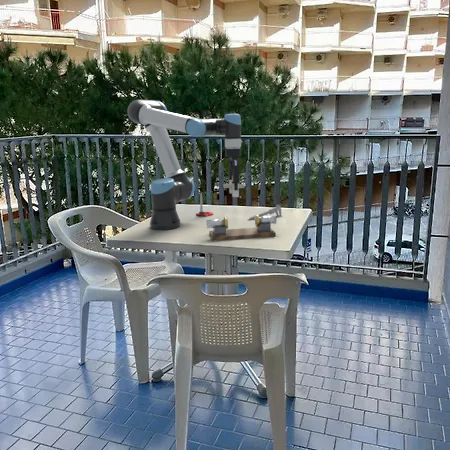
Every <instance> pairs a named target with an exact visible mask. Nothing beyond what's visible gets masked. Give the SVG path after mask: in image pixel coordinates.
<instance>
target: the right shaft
mask: <svg viewBox="0 0 450 450" xmlns="http://www.w3.org/2000/svg"><path fill="white" fill-rule="evenodd" d="M254 216H255V219H254V226H255V227H257V230H258V231H259V232H269V231H271V229H272V227H271V226H272V225H276V224H277V215H264V216H261V217H259V215H258V214H256V215H254Z"/></svg>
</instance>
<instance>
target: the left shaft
mask: <svg viewBox="0 0 450 450" xmlns="http://www.w3.org/2000/svg"><path fill="white" fill-rule="evenodd" d="M228 228H229V219H228V216H224V217H223V218H221V219H206V229H212V231H213V232H214V235H226V230H227V229H228Z"/></svg>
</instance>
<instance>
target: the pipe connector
mask: <svg viewBox="0 0 450 450" xmlns="http://www.w3.org/2000/svg"><path fill="white" fill-rule="evenodd" d="M232 182H233V176H232ZM245 185H246V184H243V183H242V184H241V183H239V189H245ZM222 188H223V189H229V188H230V189H231V190H232V193H231V197H232V198H234V197H233V183H232V184H229V183H223V187H222Z"/></svg>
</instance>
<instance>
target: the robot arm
mask: <svg viewBox="0 0 450 450" xmlns="http://www.w3.org/2000/svg"><path fill="white" fill-rule="evenodd" d="M127 116H128V118H129V119H130V121H131V122H133V123H134V124H137V125H143V126H144V129H145V131H147V132H149V134H150V137H151V139H152V143H153V145H154V147H155V150H156V153H157V155H158V158H159V161H160V163H161V166H162V169H163V172H164V174H165V177H164V178H158V179H155V180H153V181H151V183H150V200H151V208H152V209H151V211H152V212H151V213H152V214H151V217H150V222H149V228H150V229H152V230H155V231H156V230H158V231H159V230H161V231H163V230H164V231H165V230H167V231H168V230H172V229H177V228H180V226H181V225H182V224H181V219H180V217H179V215H178V214H179V213H178V212H177V205H176V203H179V202H183V201H187V200H189V199H191V198H192V197H193V195H194V193H195V192H196V187H195V186H196V185H195V182H194V180H193V179H192V178H190V177H188V176H187V173H186V171H184V170H183V169H182V168H181V165H180V163H179V160H178V156H177V154H176V151H175V149H174V146H173V143H172V141H171V138H170V135H169V132H168V130H173V131H177V132H180V133H185V134H188V135H189V136H191V137H196V138H197V137H207V136H208V137H209V136H224V148H225V151H224V152H225V153H224V155H225V157H227V158H228V181H229V182H228V184H232V183H233V197H232V198H239V197H240V190H239V189H240V188H239V184H240V169H239V168H240V167H239V163H240V162H239V160H238V158H239V157H241V156H242V143H243V140H242V120H241V114H239V113H225V114H224V117H223V118H198V117H192V116H188V115H185V114H184V115H183V114H180V113H175V112H172V111H171V112H170V111H168V109H167V106H166V105H165V104H164V103H163V102H161V101H160V100H156V99H150V100H149V99H135V100H132V102H130V103H129V105H128V106H127ZM232 176H233V182H232ZM228 189H229V190H228V191H229V193H228V194H232V190H231V189H230V188H228Z"/></svg>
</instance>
